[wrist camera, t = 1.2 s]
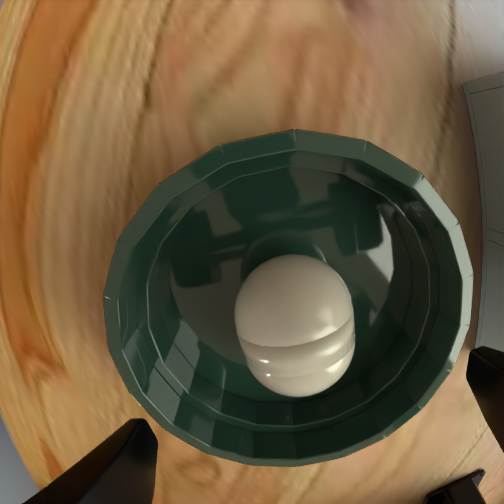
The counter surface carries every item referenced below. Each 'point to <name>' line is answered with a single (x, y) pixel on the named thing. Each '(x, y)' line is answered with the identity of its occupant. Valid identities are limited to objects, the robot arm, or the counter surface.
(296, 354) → the egg
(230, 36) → the counter surface
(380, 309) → the bowl
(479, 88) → the divided tray
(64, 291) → the counter surface
